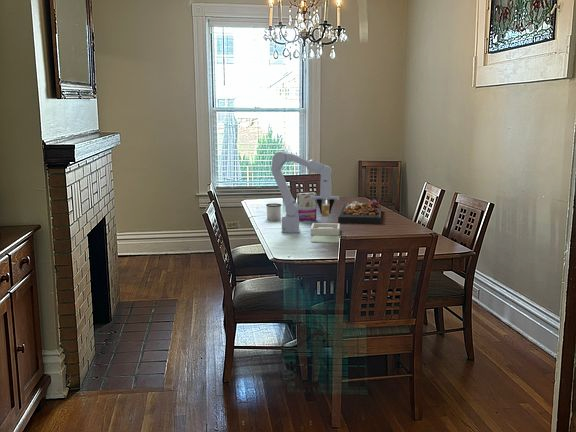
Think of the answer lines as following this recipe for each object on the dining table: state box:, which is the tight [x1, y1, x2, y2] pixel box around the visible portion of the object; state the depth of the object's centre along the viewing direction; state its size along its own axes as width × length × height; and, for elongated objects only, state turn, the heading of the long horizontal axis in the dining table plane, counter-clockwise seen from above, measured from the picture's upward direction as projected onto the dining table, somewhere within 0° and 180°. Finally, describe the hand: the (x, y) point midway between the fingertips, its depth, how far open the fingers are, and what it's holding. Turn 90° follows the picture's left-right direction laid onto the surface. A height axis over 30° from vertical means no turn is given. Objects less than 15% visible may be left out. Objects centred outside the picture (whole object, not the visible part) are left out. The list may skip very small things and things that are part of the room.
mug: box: [265, 202, 283, 221], centre depth 351 cm, size 12×10×9 cm
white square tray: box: [310, 222, 341, 236], centre depth 311 cm, size 15×15×4 cm
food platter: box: [337, 197, 382, 225], centre depth 356 cm, size 45×25×10 cm, turn 171°
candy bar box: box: [296, 192, 317, 222], centre depth 346 cm, size 11×5×16 cm, turn 101°
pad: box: [310, 235, 341, 244], centre depth 293 cm, size 14×14×1 cm
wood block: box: [321, 203, 330, 218], centre depth 309 cm, size 4×4×6 cm
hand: (325, 213), depth 309 cm, fingers closed on wood block, 4 cm apart
